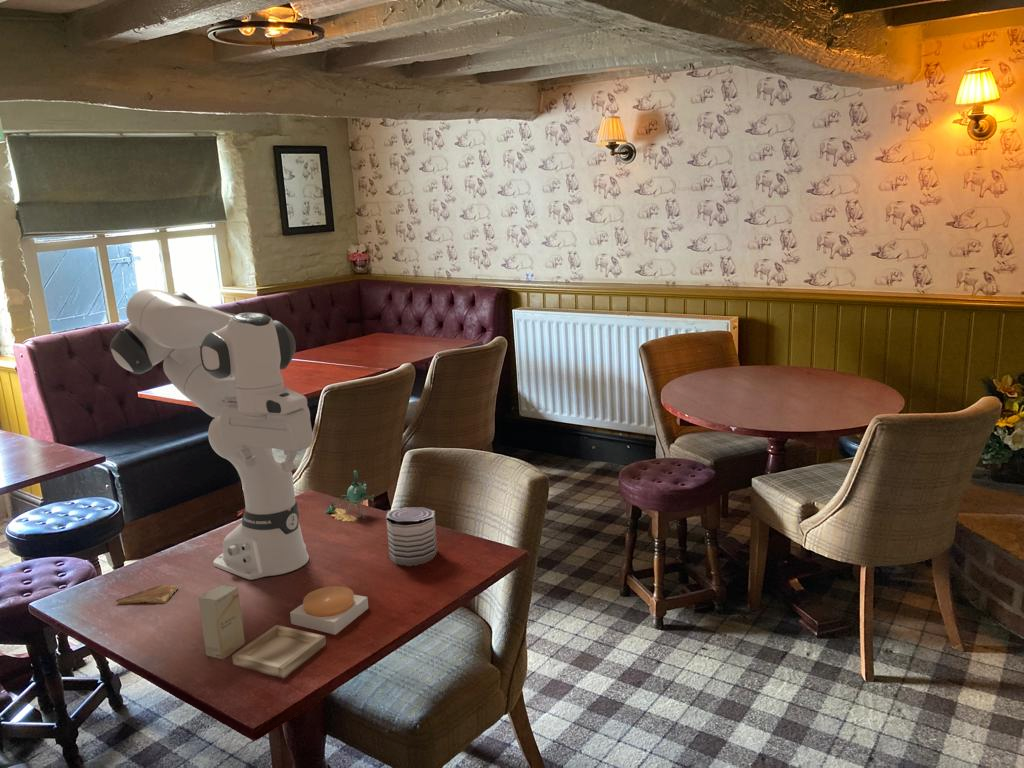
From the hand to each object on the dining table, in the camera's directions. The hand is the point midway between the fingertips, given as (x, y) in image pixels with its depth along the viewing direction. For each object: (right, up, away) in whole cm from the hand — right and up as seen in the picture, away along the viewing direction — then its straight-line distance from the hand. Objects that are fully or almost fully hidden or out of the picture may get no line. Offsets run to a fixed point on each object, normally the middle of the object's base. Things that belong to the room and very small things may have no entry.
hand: (269, 468), depth 159 cm
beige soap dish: (+4, -35, -5) cm, 35 cm away
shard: (-33, -33, +16) cm, 50 cm away
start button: (+10, -29, +8) cm, 31 cm away
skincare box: (-8, -35, -2) cm, 36 cm away
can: (+24, -25, +34) cm, 49 cm away
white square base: (+10, -32, +9) cm, 34 cm away
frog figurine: (+4, -21, +60) cm, 64 cm away
